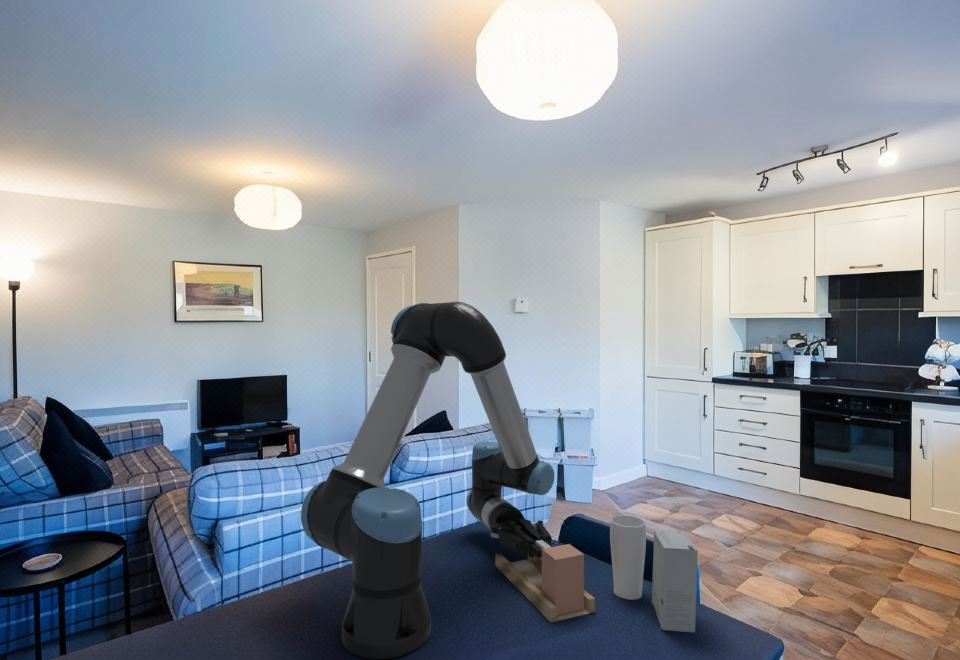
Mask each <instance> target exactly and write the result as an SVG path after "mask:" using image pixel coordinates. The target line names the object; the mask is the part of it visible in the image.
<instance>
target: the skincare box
mask: <svg viewBox="0 0 960 660" xmlns="http://www.w3.org/2000/svg"><path fill="white" fill-rule="evenodd" d="M653 534H654V535H653V558H652V560H653V561H652V585H651V586H652V587H651V590H652V591H651V603H652V605H653V608H654V610H655V611H654V613H655V615H656V617H657V620H658V623H659V625H660V628H661V630H662V631H669V632H670V631H672V632H681V633H682V632H683V633H696V618H697V617H696V614H697V613H696V611H697V587H698V586H697V585H698V584H697V583H698V553H699V551H698V549H697V548H696V547H695V545H694V544H693V542H692V539H691V538H689V536H687V534H686V532H684V531H683V530H668V529H667V530H665V529H653Z"/></svg>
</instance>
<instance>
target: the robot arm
mask: <svg viewBox="0 0 960 660" xmlns="http://www.w3.org/2000/svg"><path fill="white" fill-rule="evenodd" d="M390 334H391V335H392V336H391V342H392V345H391V348H390V351H391V353H392V356H393V360H392V361H391V364H390V366H389V368H388V369H387V371H386V374H385V376H384V378H383V379H382V382H381V384H380V386H379V389H378V390H377V392H376V395H375V396H374V398H373V401H372V403H371V405H370V407H369V410H368V411H367V413H366V416H365V417H364V420H363V422H362V423H361V426H360V428H359V430H358V431H357V432H358V433H357V434H356V436H355V438H354V440H353V442H352V445H351V447H350V449H349V451H348V453H347V455H346V457H345V458H344V461H343V462H342V463H340V464H338V465H336V466H333V467H332V468H331V470H330V473H329V474H328V477H327V478H326V480H324V481H321V482H318V484H315V485H314V486H312V487H311V488H310V489H309V491H308V492H307V494H306V495H305V497H304V499H303V501H302V506H301V508H300V509H301V510H300V521H301V522H300V523H301V525H302V529H303V531H304V533H305V535H306V536H307V537H308V538H309V539H310V540H311V541H313V542H314V543H315V544H316V545H318V547H320V548H323V549H325V550H329V551H331V552H333V553H335V554H336V555H339V556H341V557H343V558H345V559H347V560H348V561H350V562H352V589H351V594H350V598H349V601H348V603H347V606H346V610H345V613H344V616H343V619H342V623H341V642H342V645H343V647H344V648H345V649H346V650H347V651H349V653H351V654H353V655H355V656H357V657H359V658H365V659H371V660H386V659H394V658H397V657H402V656H404V655H407V654H410V653H412V652H414V651H416V650H417V649H419V648H421V647H422V646H423V645H424V644H425V643H426V642H427V641H428V639H429V637H430V635H431V632H432V617H431V615H432V614H431V611H430V609H429V608H430V607H429V605H428V601H427V599H426V596H425V593H424V589H423V586H422V542H423V539H422V538H423V533H422V532H423V518H422V513H421V512H422V509H421V505H420V502H419V500H418V499H417V497H416V496H414V495H413V494H412V493H411V492H408V491H406V490H403V489H400V488H396V487H395V488H389V487H387V486H386V484H385V483H386V482H385V478H386V475H387V472H388V470H389V468H390V466H391V464H392V462H393V459H394V458H395V455H396V453H397V450H398V448H399V446H400V443H401V441H402V439H403V436H404V435H405V433H406V430H407V429H408V426H409V423H410V420H411V419H412V416H413V414H414V412H415V410H416V407H417V405H418V403H419V401H420V398H421V396H422V393H423V392H424V390H425V386H426V384H427V382H428V380H429V378H430V376H431V374H435V373H437V372H440V370H441V368H442V366H443V363H444V361H445V359H446V357H454V358H456V359H457V360H458V361H459V363H460V364H461V366H462V369H463V371H464V372H465V373H467V374H468V375H470V376H471V380H472V382H473V384H474V386H475V389H476V392H477V394H478V396H479V399H480V402H481V404H482V407H483V409H484V411H485V414H486V416H487V420H488V422H489V425H490V426H491V429H492V432H493V434H494V438H495V439H496V441H497V442H495V441H480V442H477V443H475V444H474V445H473V446H472V453H471V454H472V457H471V489H470V490H469V492H468V494H467V496H466V506H467V509H468V510H469V511H470V513H471V515H472V516H473V517H474V518H475V519H477V520H479V522H481V523H482V524H483V525H484V526H486V528H488V529H489V530H490V540H491V541H492V542H497V543H499V544H500V545H503V546H505V547H506V548H508V549H511V550H513V551H514V552H516V553H517V554H520V555H524V554H525V553H527V554H528V553H529V557H530V558H533V557H534V555H535V556H536V557H537V558H540V559H542V549H544V548H550V547H553V546H552V545H553V543H552V537H553V536H552V535H551V534H550V532H549V531H548V530H547V528H546V527H545V526H544V521H543V520H537V521H536V522H535V523H532V522H531V520H529V519H526V518H525V516H524V514H523V512H522V511H521V510H519V508H517V507H515V506H514V505H513V504H511V503H510V502H509V501H507V500H506V499H504V498H503V496H502V495H503V494H502V489H503V487H504V488H508V489H512V490H516V491H519V492H523V493H527V494H532V495H538V496H545V495H547V494H549V492H550V490H551V489H552V487H553V485H554V482H555V470H554V467H553V466H552V465H551V464H550V463H549V462H545V461H544V460H540V458H539V457H538V453H537V451H536V448H535V444H534V442H533V439H532V436H531V434H530V431H529V429H528V426H527V422H526V420H525V417H524V414H523V412H522V409H521V406H520V404H519V401H518V398H517V395H516V392H515V389H514V387H513V383H512V381H511V379H510V376H509V373H508V370H507V368H506V363H505V362H504V361H505V360H506V358H507V353H506V351H505V348H504V345H503V342H502V340H501V338H500V336H499V334H498V332H497V331H496V330H495V328H494V326H493V325H492V324H491V322H490V320H488V319H487V317H486V316H485V315H484V314H483V313H482V312H481V311H480V310H478V309H477V308H476V307H474V306H472V305H470V304H468V303H465V302H462V301H449V302H439V303H438V302H437V303H434V302H433V303H428V302H427V303H426V302H420V303H417V304H416V303H415V304H412V305H408V306H405V307H404V308H402V309H401V310H400V311H399V312H398V313H397V315H396V316H395V317H394V319H393V321H392V324H391V329H390Z"/></svg>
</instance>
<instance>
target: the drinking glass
mask: <svg viewBox="0 0 960 660" xmlns="http://www.w3.org/2000/svg"><path fill="white" fill-rule="evenodd" d="M646 528H647V526H646V521H645V520H644V519H642V518H640V517H638V516H634V515H629V514H628V515H627V514H626V515H625V514H620V515H619V514H618V515H617V514H616V515H614V516H612V517H610V523H609V542H610V556H611V565H612V576H613V577H612V578H613V579H612V581H613V593H614V594H615V595H616V597H619V598H621V599H625V600H638V599H641V598H642V596H643V584H644V581H643V580H644V571H645V560H646V559H645V558H646V547H647V529H646Z"/></svg>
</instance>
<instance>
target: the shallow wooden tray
mask: <svg viewBox="0 0 960 660" xmlns="http://www.w3.org/2000/svg"><path fill="white" fill-rule="evenodd" d="M494 557H495V558H494V559H495V567H496V568H497V569H498V570H499V571H500V572H501V573H502V574H503V575H504V577H506V578H507V579H508V580H509V582H511V583H512V584H513V586H515V588H517V590H518V591H519V592H521V593H522V594H523V596H524V597H525V598H526V599H528V601H529V602H530V603H531V604H532V605H534V607H535V608H536V609H537V610H538V611H539V612H540V613H541V614H542V615H543V616H544V617H545V618H546V619H547V620H548V621H549V622H550V623H555V622H560V621H563V620H568V619H571V618H572V619H573V618H576V617H579V616H580V617H581V616H585V615H588V614H593V613H595V612H596V598H595V597H594V596H593V595H592V594H591V593H589V592H588V591H587V590H585V589H584V609H583V610H579V611H574V612H570V613H566V614H562V615H557V607H556V606H555V605H554V604H553V603H552V602H551V601H550V600H549V599H548V598H547V597H546V596H545V595H544V594H542V559H540V558H537V557H536V556H535V555H534V557H533V558H530V557H529V553H528V552H527V559H523V560H518V561H517V560H515V561H512V562H510V560H508V559H507V558H506V557H505V556H504V555H502V553H495V556H494Z"/></svg>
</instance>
